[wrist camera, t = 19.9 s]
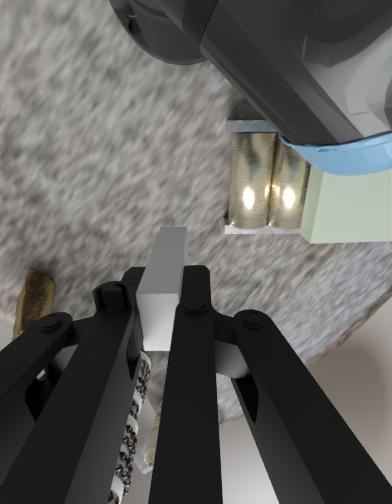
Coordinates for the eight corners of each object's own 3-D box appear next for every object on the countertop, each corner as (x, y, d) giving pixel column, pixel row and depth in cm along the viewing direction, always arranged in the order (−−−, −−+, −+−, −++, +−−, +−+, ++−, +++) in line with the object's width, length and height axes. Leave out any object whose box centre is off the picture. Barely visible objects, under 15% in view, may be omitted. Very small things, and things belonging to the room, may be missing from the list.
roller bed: (226, 120, 32) (230, 120, 28) (355, 118, 32) (380, 118, 28) (222, 225, 38) (225, 239, 34) (331, 224, 38) (348, 238, 34)
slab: (317, 127, 28) (332, 128, 25) (445, 125, 29) (473, 126, 26) (299, 233, 33) (310, 243, 30) (407, 230, 34) (427, 239, 31)
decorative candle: (143, 384, 54) (102, 572, 32) (99, 370, 52) (23, 557, 30) (160, 355, 50) (128, 544, 28) (114, 339, 49) (39, 525, 26)
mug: (197, 398, 56) (196, 452, 47) (180, 432, 61) (177, 486, 52) (158, 390, 55) (149, 443, 46) (145, 425, 60) (135, 478, 51)
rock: (57, 346, 47) (82, 317, 42) (0, 366, 39) (22, 335, 35) (34, 294, 50) (55, 262, 45) (-22, 305, 43) (-4, 268, 38)
